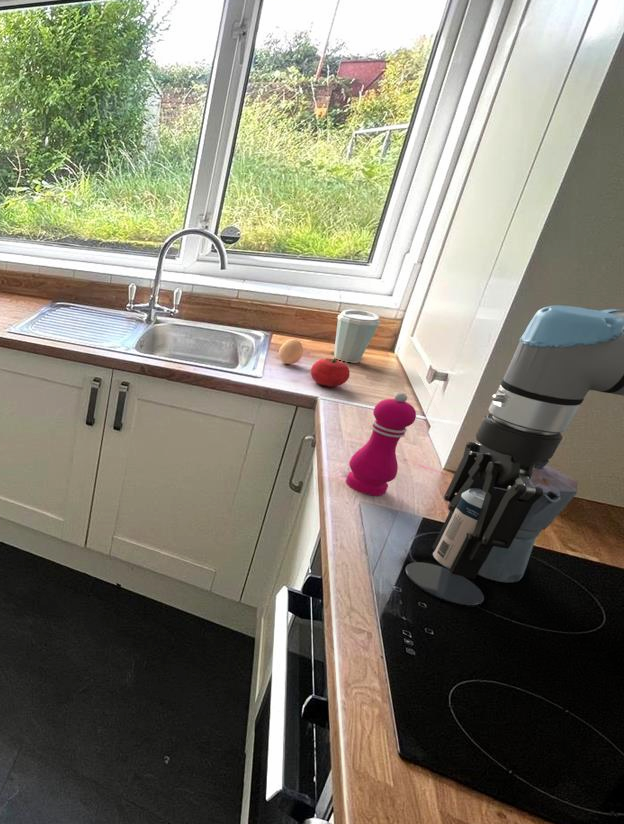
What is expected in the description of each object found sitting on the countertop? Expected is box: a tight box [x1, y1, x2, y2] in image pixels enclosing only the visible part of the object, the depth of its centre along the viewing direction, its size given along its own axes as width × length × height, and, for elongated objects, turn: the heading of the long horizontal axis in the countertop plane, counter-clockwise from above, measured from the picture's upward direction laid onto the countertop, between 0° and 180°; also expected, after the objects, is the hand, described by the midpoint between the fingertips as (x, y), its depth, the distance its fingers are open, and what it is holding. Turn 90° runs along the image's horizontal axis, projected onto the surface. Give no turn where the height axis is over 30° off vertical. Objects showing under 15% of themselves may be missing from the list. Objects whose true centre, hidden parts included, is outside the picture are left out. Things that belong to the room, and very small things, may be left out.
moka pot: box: [477, 459, 578, 584], centre depth 89 cm, size 10×15×20 cm, turn 159°
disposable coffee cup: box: [333, 309, 382, 364], centre depth 179 cm, size 11×11×15 cm
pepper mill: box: [345, 392, 417, 497], centre depth 108 cm, size 7×7×20 cm
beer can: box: [432, 488, 486, 570], centre depth 84 cm, size 5×5×12 cm
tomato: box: [310, 357, 351, 388], centre depth 160 cm, size 9×9×8 cm
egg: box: [278, 338, 304, 365], centre depth 175 cm, size 6×6×8 cm
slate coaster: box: [404, 561, 485, 607], centre depth 87 cm, size 9×9×1 cm
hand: (452, 562), depth 86 cm, fingers closed on beer can, 5 cm apart
